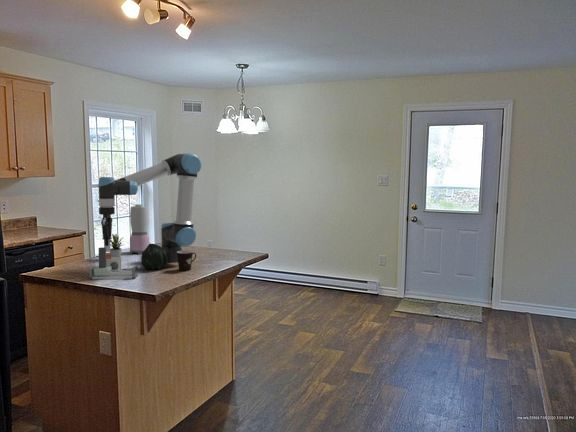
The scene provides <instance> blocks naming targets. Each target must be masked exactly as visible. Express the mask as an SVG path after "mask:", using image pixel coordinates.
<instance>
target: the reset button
mask: <svg viewBox="0 0 576 432" xmlns="http://www.w3.org/2000/svg"><path fill="white" fill-rule="evenodd" d="M111 255H112V253H110V252H106V259H111Z"/></svg>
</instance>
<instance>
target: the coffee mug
mask: <svg viewBox="0 0 576 432" xmlns="http://www.w3.org/2000/svg"><path fill="white" fill-rule="evenodd" d="M193 255H194V258H193ZM177 258H178V262H177V263H178V265H177V266H178V271H179V272H189V271H191V269H192V263H193V262H194V261H195V260H196V258H197V254H196V253H195V252H193V251H192V250H182V251H178V252H177Z"/></svg>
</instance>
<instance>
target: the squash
mask: <svg viewBox="0 0 576 432" xmlns="http://www.w3.org/2000/svg"><path fill="white" fill-rule="evenodd" d="M140 260H141V265H142V267H144V268H145V269H146V270H154V271H155V270H161V269H162V268H165V267H166V266H167V265H168V263H169V262H168V260H169V255H168V253H167V251H166V250H165V249H163V248H162V246H160V245H158V244H155V243H149V245H148V246H147V248H146V249H145V250H144V252H142V254H141V257H140Z"/></svg>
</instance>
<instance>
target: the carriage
mask: <svg viewBox="0 0 576 432" xmlns="http://www.w3.org/2000/svg"><path fill="white" fill-rule="evenodd" d="M106 253H107V252H106V247H104V246H103V247H98V265H96V268H94V275H109V271H111V269H112V266H106Z"/></svg>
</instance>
